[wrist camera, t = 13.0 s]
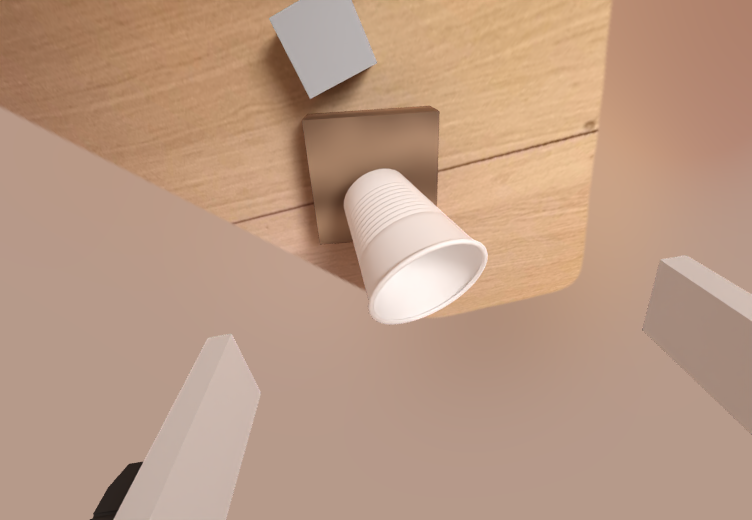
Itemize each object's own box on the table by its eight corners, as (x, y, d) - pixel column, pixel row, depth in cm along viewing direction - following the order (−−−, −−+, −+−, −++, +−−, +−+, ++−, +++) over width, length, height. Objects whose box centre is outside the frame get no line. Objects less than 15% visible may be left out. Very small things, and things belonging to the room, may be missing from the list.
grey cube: (282, 25, 32) (268, 18, 26) (343, -10, 31) (341, -25, 25) (316, 93, 34) (310, 98, 29) (373, 63, 33) (377, 63, 28)
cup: (383, 238, 39) (431, 324, 33) (302, 223, 32) (344, 326, 26) (441, 165, 34) (511, 250, 28) (359, 129, 27) (427, 230, 21)
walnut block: (308, 113, 36) (301, 120, 31) (428, 105, 36) (439, 111, 31) (323, 225, 41) (319, 244, 37) (427, 217, 42) (436, 235, 37)
